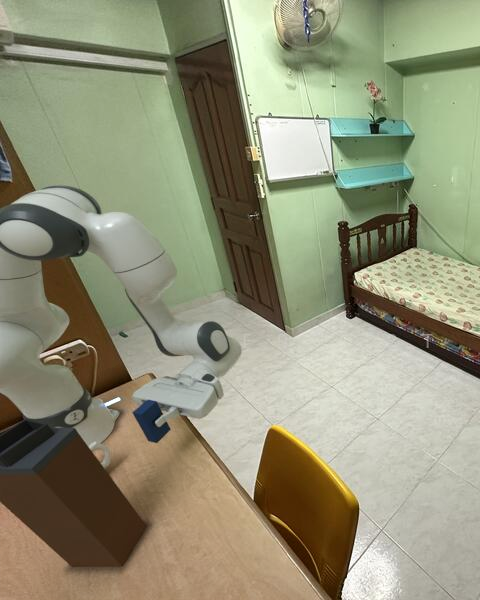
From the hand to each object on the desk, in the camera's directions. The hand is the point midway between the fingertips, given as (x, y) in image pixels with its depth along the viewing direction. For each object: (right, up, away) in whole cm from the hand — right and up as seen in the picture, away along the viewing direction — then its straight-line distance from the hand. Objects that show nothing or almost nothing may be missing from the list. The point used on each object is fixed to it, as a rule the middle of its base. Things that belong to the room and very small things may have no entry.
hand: (148, 423), depth 73 cm
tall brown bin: (-2, -23, -7) cm, 24 cm away
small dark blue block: (0, -4, +3) cm, 6 cm away
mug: (-16, -16, +4) cm, 23 cm away
